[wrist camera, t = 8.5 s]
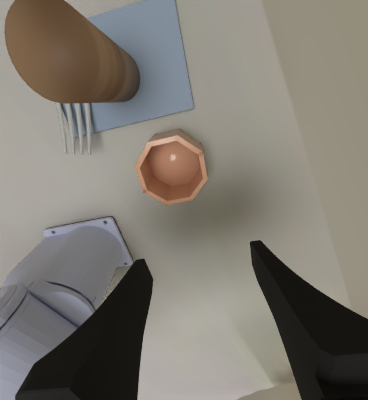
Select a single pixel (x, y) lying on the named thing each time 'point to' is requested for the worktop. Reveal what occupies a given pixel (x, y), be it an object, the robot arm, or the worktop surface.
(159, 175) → the cup
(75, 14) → the peg
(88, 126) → the fork
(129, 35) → the mat
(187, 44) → the worktop surface
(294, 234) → the worktop surface
